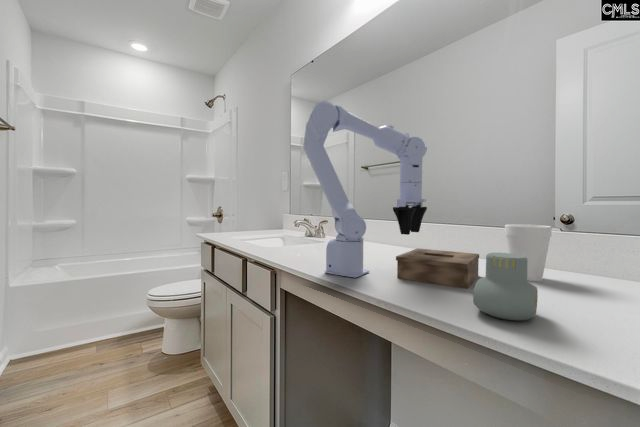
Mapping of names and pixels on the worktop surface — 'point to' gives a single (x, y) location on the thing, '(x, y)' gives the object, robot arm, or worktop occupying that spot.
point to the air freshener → (506, 288)
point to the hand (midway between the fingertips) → (410, 233)
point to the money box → (438, 267)
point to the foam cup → (530, 246)
